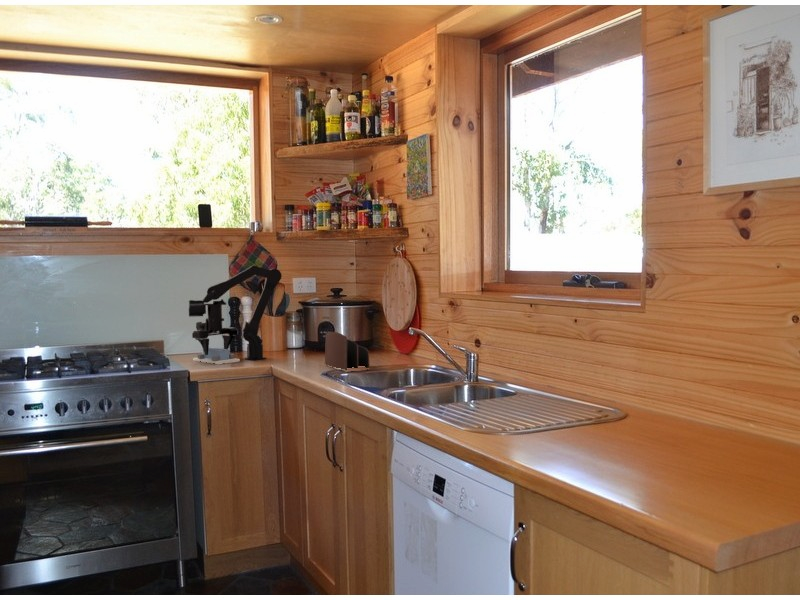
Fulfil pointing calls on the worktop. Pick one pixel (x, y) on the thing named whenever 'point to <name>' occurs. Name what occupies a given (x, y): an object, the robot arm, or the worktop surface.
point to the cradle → (216, 359)
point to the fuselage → (217, 353)
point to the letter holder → (344, 352)
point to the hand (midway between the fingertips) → (216, 353)
